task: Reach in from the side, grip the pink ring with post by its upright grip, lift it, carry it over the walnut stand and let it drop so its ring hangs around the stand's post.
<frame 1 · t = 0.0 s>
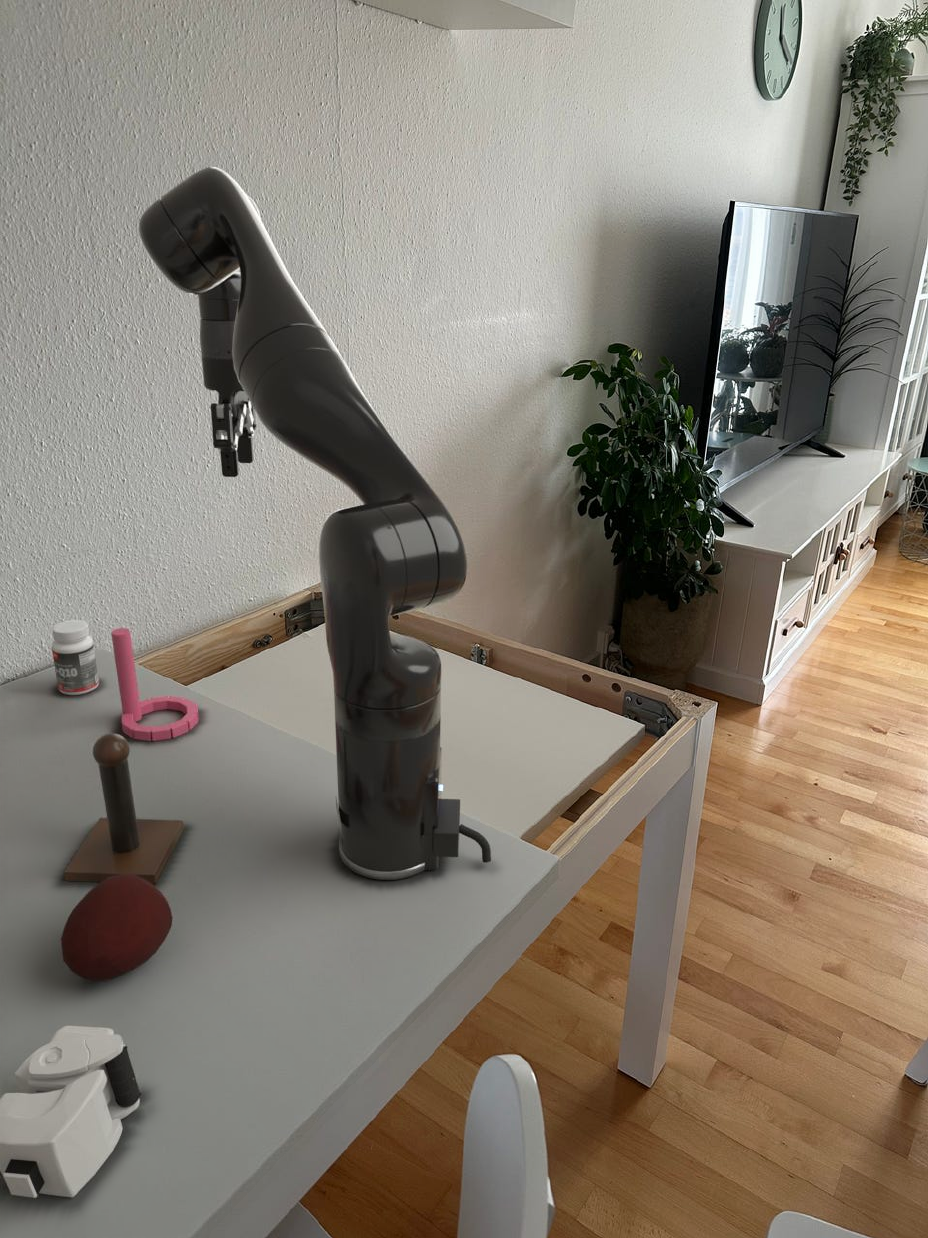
hand: (238, 469, 129), 21 cm above the table, tool pointing down, fingers open, 8 cm apart
potato: (135, 963, 70), on the table
pink ring with post: (161, 722, 104), on the table
stand: (127, 853, 82), on the table
white plastic gadget: (103, 1032, 60), point 3 cm above the table
pill bottle: (79, 688, 112), on the table
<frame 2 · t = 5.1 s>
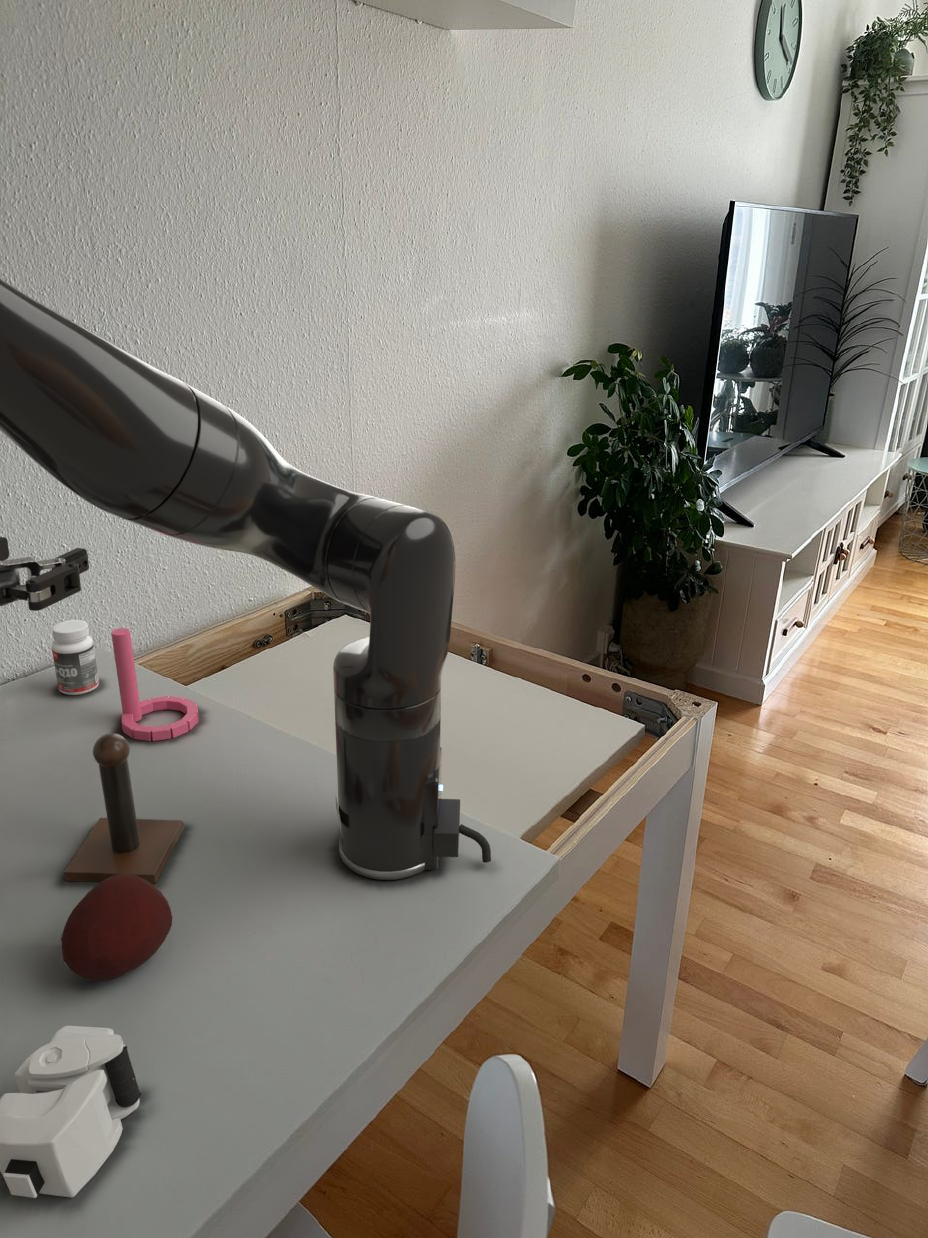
hand: (44, 552, 86), 24 cm above the table, tool horizontal, fingers open, 8 cm apart
nothing on the table moved.
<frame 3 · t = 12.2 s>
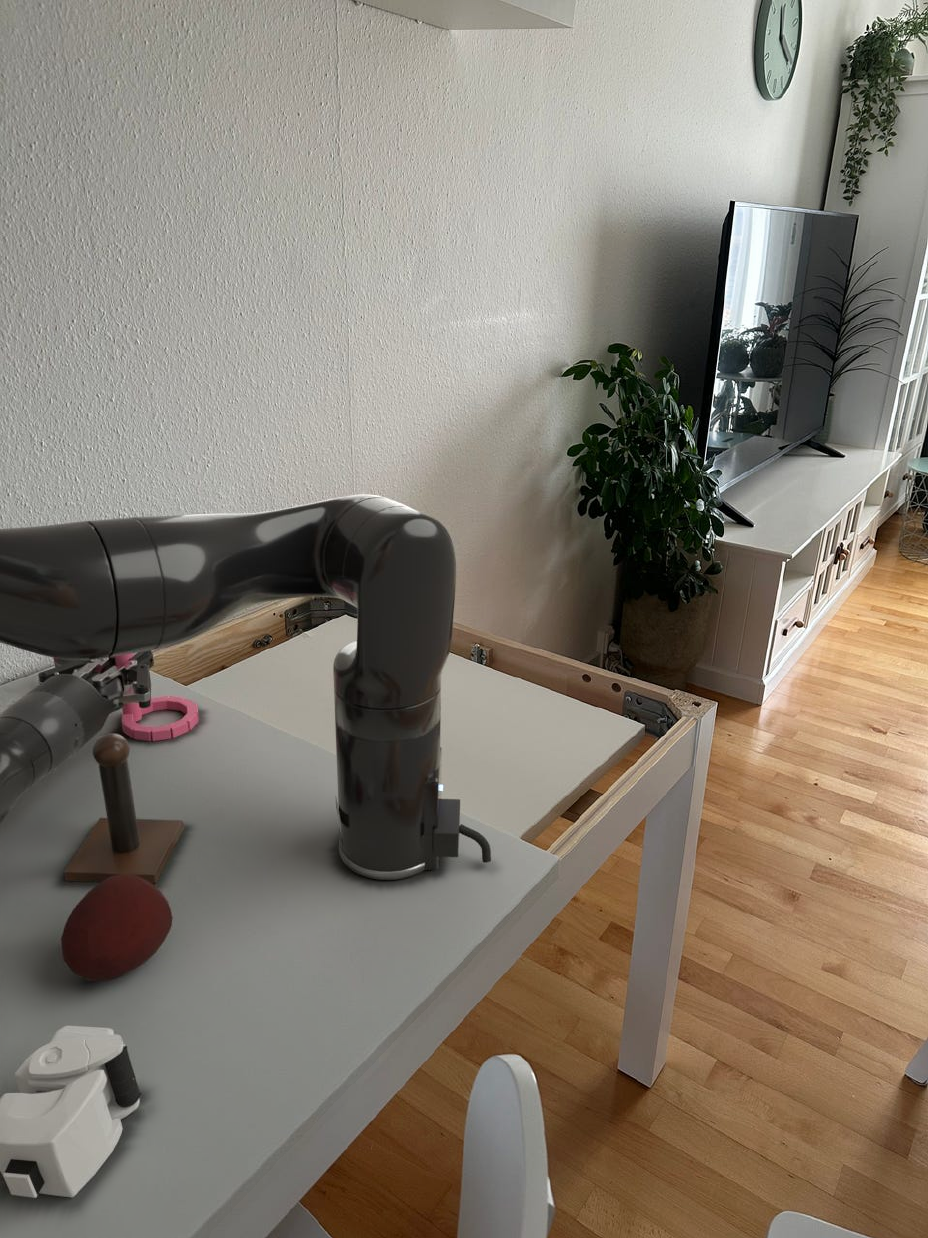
hand: (138, 654, 105), 7 cm above the table, tool horizontal, fingers closed on pink ring with post
pink ring with post: (161, 722, 104), on the table, touching gripper
everything else where it was.
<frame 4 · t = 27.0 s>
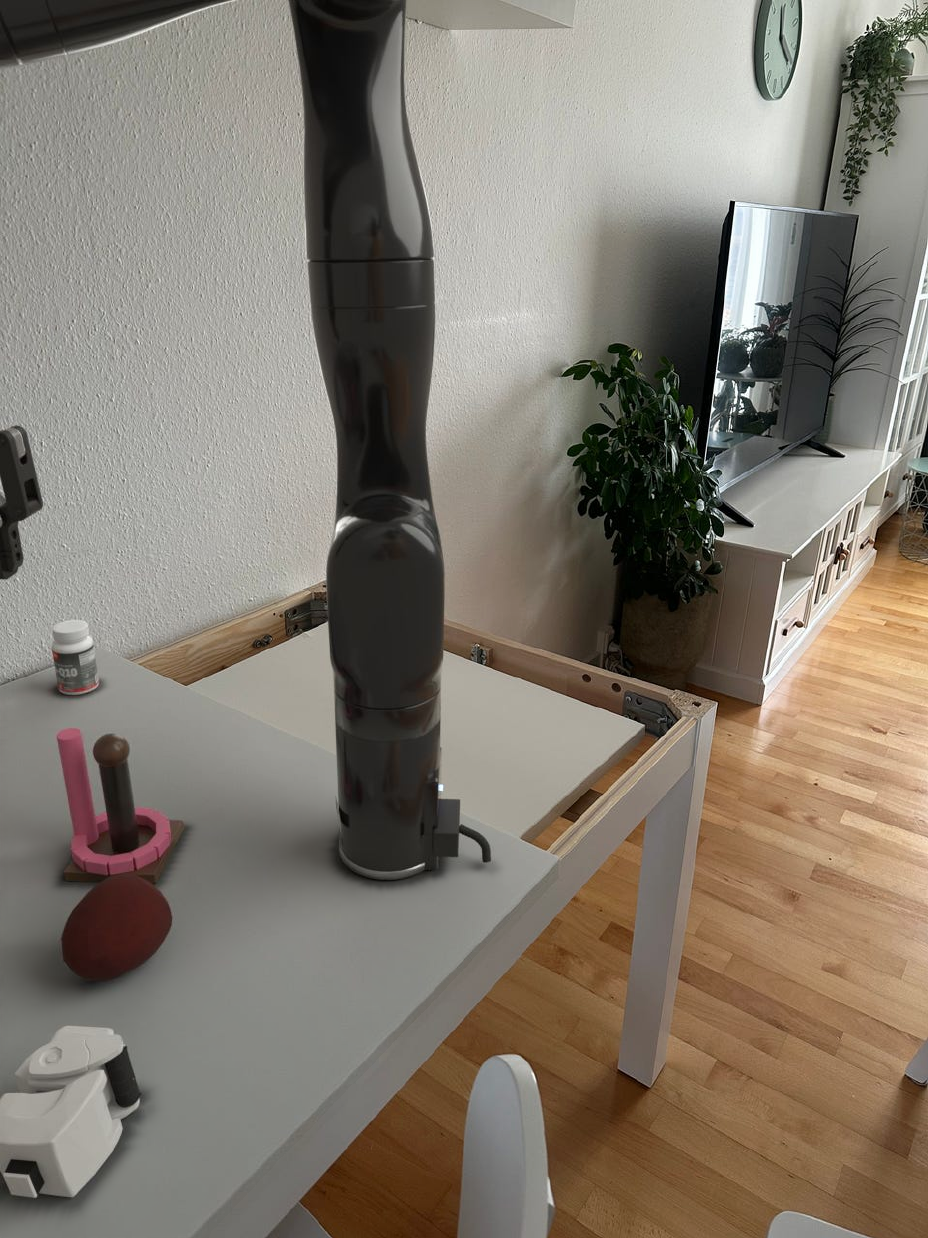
pink ring with post: (122, 844, 82), point 1 cm above the table, touching stand
everything else where it was.
at the end: pink ring with post 0.3 cm from the stand (horizontally); pink ring with post point 1.0 cm above the table; the gripper is holding nothing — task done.
